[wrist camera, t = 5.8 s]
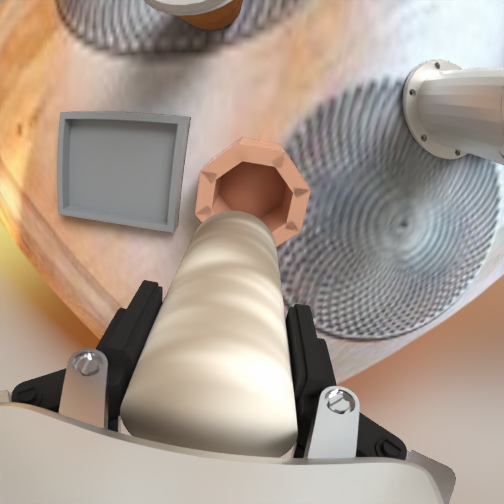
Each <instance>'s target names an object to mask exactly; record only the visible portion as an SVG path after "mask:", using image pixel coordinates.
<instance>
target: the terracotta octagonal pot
mask: <svg viewBox="0 0 504 504" xmlns="http://www.w3.org/2000/svg"><path fill="white" fill-rule="evenodd" d="M310 191H311V190H310V188H309V187H308V185H307V183H306V182H305V180H304V179H303V177H302V176H301V174H300V173H299V171H298V170H297V168H296V167H295V165H294V164H293V162H292V161H291V159H290V158H289V156H288V155H287V153H286V152H285V151H284V149H283V148H282V146H281V145H280V144H276V143H271V142H265V141H260V140H254V139H248V138H241V139H239V140H238V141H237V142H235V143H234V144H232V145H231V146H229V147H228V148H227V149H225V150H224V151H222V152H221V153H220V154H218V155H217V156H215V157H214V158H213V159H211V160H210V161H209V162H208V163H207V164H206V165H205V166H204V167H203V169H202V170H201V171H200V177H199V185H198V193H197V201H196V209H195V215H196V216H197V217H198V218H199V220H200V221H201V222H203V221H205V220H206V219H207V218H209V217H210V216H212V215H214V214H216V213H219V212H223V211H233V210H234V211H242V212H246V213H249V214H252V215H254V216H255V217H257V218H259V219H260V220H261V221H263V222H264V223H265V224H266V225H267V227H268V228H269V229H270V231H271V232H272V234H273V237H274V239H275V243H276V247H277V246H278V245H280V244H282V243H283V242H285V241H287V240H288V239H290V238H291V237H293V236H295V235H296V234H298V233H299V232H301V228H302V224H303V220H304V216H305V212H306V208H307V204H308V199H309V195H310Z"/></svg>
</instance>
